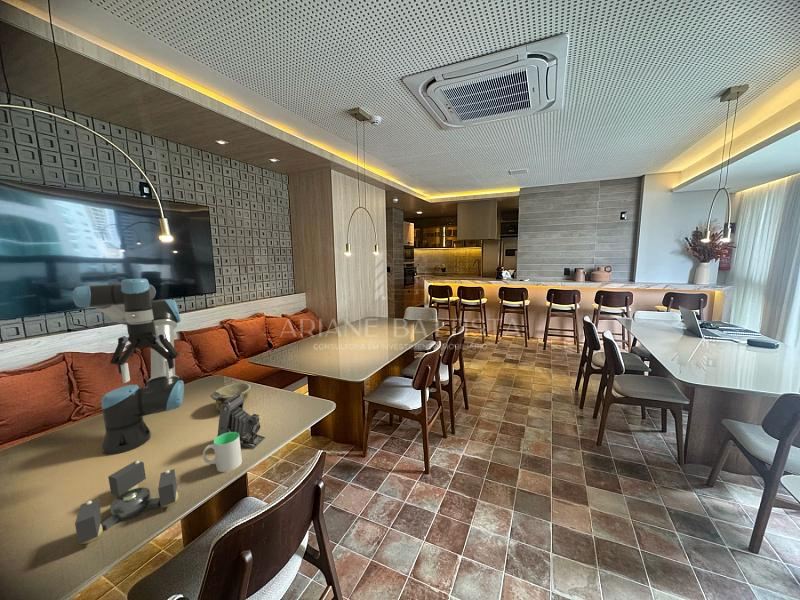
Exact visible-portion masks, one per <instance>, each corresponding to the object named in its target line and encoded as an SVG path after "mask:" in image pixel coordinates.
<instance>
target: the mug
mask: <svg viewBox="0 0 800 600" xmlns="http://www.w3.org/2000/svg"><path fill="white" fill-rule="evenodd" d="M208 449H213V451H214V455H215V456H214V457H215V458H214V459H212V460H209V459H208V458H207V457H206V451H207V450H208ZM202 460H203V462H204V463H206V464H209V465H214V464H215V465H216V470H217V472H219V473H227V472H231V471H233V470H236V469H237V468H238V467H240V466H241V464H242V463H243V457H242V449H241V445H240V438H239V433H237V432H228V433H224V434H222V435H220V436H218V437H217V436H216V437H215V438H214V439H213V443H212V444H208V445H207V446H206V447H205V448H204V449H203V451H202Z"/></svg>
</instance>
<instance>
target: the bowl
mask: <svg viewBox="0 0 800 600" xmlns="http://www.w3.org/2000/svg"><path fill="white" fill-rule="evenodd" d="M251 387H252V386H251V385H250V384H249V383H247V382H236V383H231V384H228V385H225V386H223V387H220V388H218V389H217V390H215V391H214V392H213V393H211V395H210V398H211V399H212V400H214V401H215V409H216V410H217V411H219V412H220V409H221V405H222V404H223V403H224V401H226V400H228V399H229V398H230V397H232V396H233V395H235V394H237V393H238V392H241V393H242V394H241V395H243V397H244V402H245V401H246V400H247V399H248V397H249V392H250V391H251Z"/></svg>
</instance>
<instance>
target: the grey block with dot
mask: <svg viewBox="0 0 800 600" xmlns="http://www.w3.org/2000/svg"><path fill="white" fill-rule="evenodd" d="M107 478H108V485H109V489H110V494H111V495H113V496H117V497H119V496H120V495H122V494H123V493H125V492H127V491H130V490H133V489H136V488H140V487H139V484H140V483H142V482H143V481H144V480H146V479H147V476H146V470H145V462H143V461H140V460H135V461H133V462H131V463H129V464H128V465H126V466H124V467H122V468H120V469H119V470H117V471H115V472H113V473H111V474H110V475H109V476H108V477H107Z"/></svg>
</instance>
